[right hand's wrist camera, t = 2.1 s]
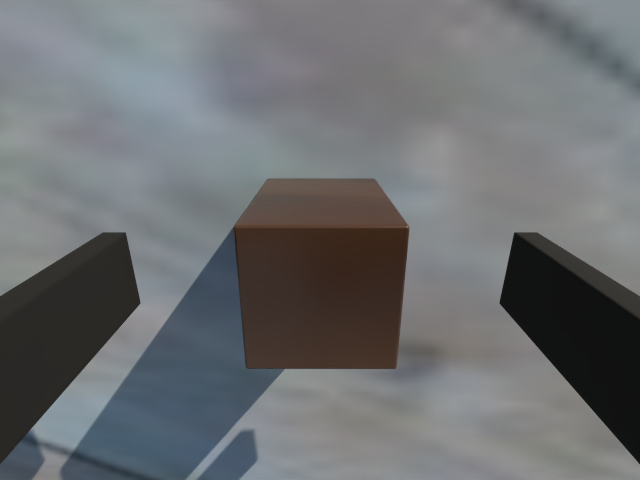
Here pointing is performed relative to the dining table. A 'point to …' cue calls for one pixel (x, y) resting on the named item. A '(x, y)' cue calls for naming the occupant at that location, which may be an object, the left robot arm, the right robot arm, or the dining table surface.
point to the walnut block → (321, 275)
